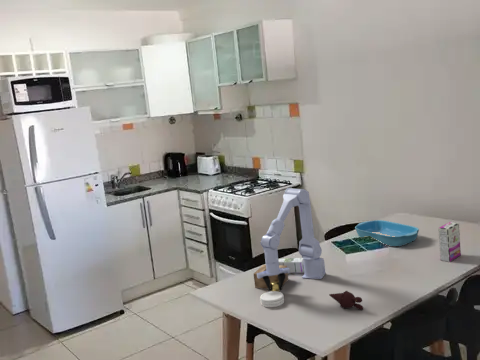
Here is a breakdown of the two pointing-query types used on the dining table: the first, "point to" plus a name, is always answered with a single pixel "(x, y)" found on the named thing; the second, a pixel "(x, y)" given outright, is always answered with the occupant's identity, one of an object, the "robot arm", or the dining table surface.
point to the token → (274, 286)
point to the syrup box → (293, 264)
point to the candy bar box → (449, 241)
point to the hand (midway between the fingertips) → (275, 290)
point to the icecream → (347, 300)
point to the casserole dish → (388, 232)
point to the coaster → (272, 299)
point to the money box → (261, 283)
